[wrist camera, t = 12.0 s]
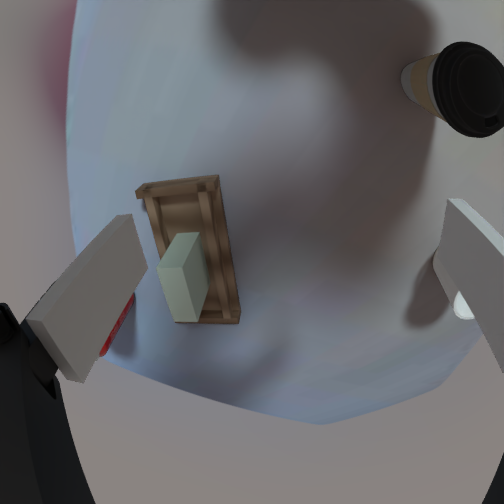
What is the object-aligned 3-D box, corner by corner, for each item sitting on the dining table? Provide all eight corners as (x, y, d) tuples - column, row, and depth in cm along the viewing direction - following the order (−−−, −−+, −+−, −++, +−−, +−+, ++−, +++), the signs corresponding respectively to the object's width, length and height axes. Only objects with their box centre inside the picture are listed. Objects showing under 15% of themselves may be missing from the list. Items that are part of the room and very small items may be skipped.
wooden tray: (143, 183, 42) (134, 191, 40) (218, 174, 41) (214, 182, 38) (179, 311, 55) (175, 322, 52) (241, 311, 53) (238, 323, 51)
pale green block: (176, 233, 45) (155, 268, 37) (199, 231, 44) (182, 267, 37) (189, 282, 50) (173, 321, 42) (210, 282, 49) (197, 322, 41)
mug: (480, 257, 43) (507, 294, 34) (442, 287, 47) (464, 328, 38) (457, 213, 40) (490, 248, 31) (414, 247, 44) (439, 289, 35)
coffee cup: (423, 130, 34) (484, 162, 22) (373, 80, 32) (422, 85, 19) (461, 85, 30) (531, 100, 17) (414, 34, 28) (476, 21, 15)
